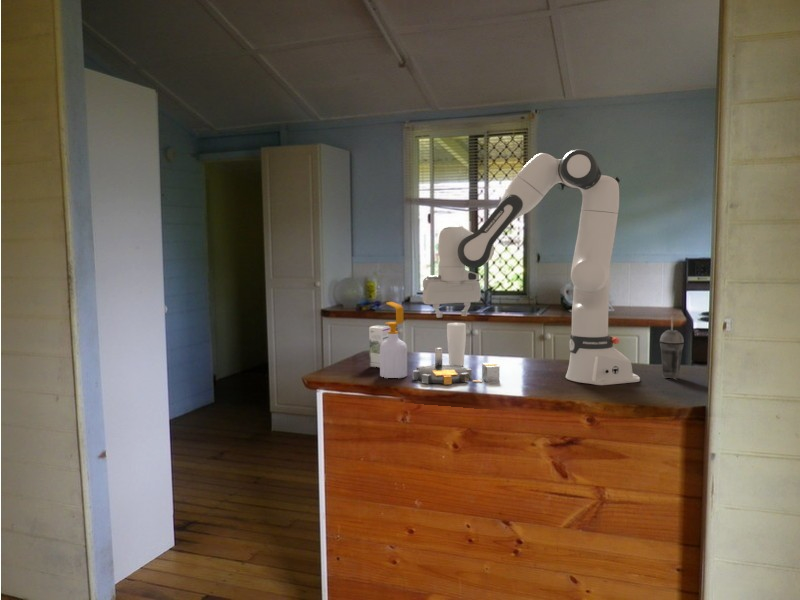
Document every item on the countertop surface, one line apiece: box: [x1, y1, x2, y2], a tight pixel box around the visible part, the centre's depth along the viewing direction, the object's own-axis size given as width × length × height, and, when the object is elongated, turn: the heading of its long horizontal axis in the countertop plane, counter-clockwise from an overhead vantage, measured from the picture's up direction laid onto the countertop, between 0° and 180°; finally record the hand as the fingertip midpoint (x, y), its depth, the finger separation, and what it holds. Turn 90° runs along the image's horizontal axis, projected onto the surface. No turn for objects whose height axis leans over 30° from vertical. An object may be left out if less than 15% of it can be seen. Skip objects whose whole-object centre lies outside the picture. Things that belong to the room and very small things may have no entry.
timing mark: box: [471, 379, 484, 383], centre depth 194 cm, size 3×1×1 cm, turn 67°
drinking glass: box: [446, 322, 467, 367], centre depth 219 cm, size 7×7×15 cm
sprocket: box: [412, 347, 472, 385], centre depth 199 cm, size 19×19×8 cm
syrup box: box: [368, 324, 391, 369], centre depth 219 cm, size 6×6×14 cm
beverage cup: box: [659, 314, 685, 379], centre depth 196 cm, size 7×7×20 cm
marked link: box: [481, 362, 500, 383], centre depth 197 cm, size 4×6×5 cm, turn 7°
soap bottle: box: [379, 301, 408, 379], centre depth 203 cm, size 9×9×25 cm
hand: (451, 316), depth 205 cm, fingers open, 8 cm apart
